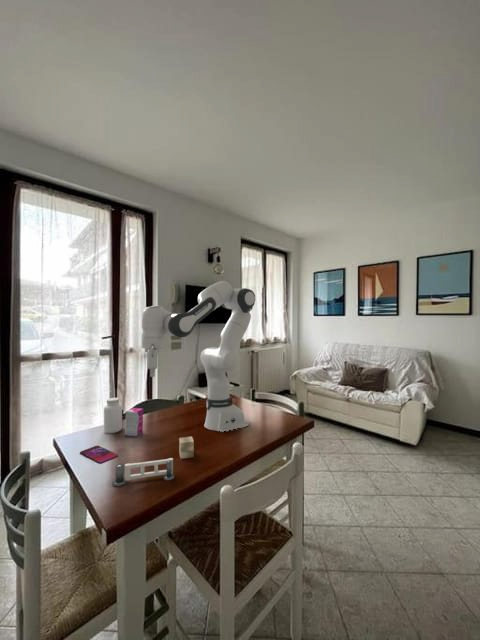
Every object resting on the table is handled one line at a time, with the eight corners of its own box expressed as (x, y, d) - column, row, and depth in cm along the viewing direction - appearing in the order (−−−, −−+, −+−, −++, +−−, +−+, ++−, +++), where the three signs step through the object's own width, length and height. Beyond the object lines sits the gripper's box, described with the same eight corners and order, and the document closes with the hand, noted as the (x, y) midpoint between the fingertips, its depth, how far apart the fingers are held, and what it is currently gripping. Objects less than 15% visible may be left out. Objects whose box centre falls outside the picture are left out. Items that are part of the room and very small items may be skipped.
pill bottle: (107, 427, 139) (107, 397, 139) (124, 427, 139) (124, 396, 139) (100, 433, 131) (101, 401, 131) (118, 433, 131) (118, 401, 131)
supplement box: (136, 437, 127) (136, 412, 127) (124, 436, 128) (124, 411, 128) (143, 432, 133) (143, 408, 133) (131, 431, 134) (132, 407, 134)
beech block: (191, 451, 114) (191, 436, 114) (193, 456, 109) (193, 441, 109) (179, 453, 112) (179, 438, 112) (180, 458, 108) (180, 443, 108)
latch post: (174, 474, 97) (174, 458, 97) (174, 479, 93) (174, 463, 93) (163, 475, 96) (163, 459, 96) (163, 481, 92) (163, 464, 92)
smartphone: (100, 463, 103) (78, 452, 111) (99, 465, 103) (78, 454, 111) (119, 454, 110) (97, 444, 118) (119, 457, 110) (97, 447, 118)
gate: (124, 480, 91) (124, 466, 91) (125, 478, 93) (125, 463, 93) (172, 473, 96) (172, 459, 96) (172, 471, 97) (172, 457, 97)
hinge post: (127, 477, 94) (127, 461, 94) (126, 485, 90) (126, 468, 90) (113, 480, 93) (113, 463, 93) (111, 487, 89) (111, 470, 89)
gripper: (161, 345, 110) (160, 380, 110) (159, 341, 130) (159, 371, 130) (144, 345, 109) (143, 381, 108) (145, 342, 128) (145, 372, 128)
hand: (152, 376), depth 119 cm, fingers closed
